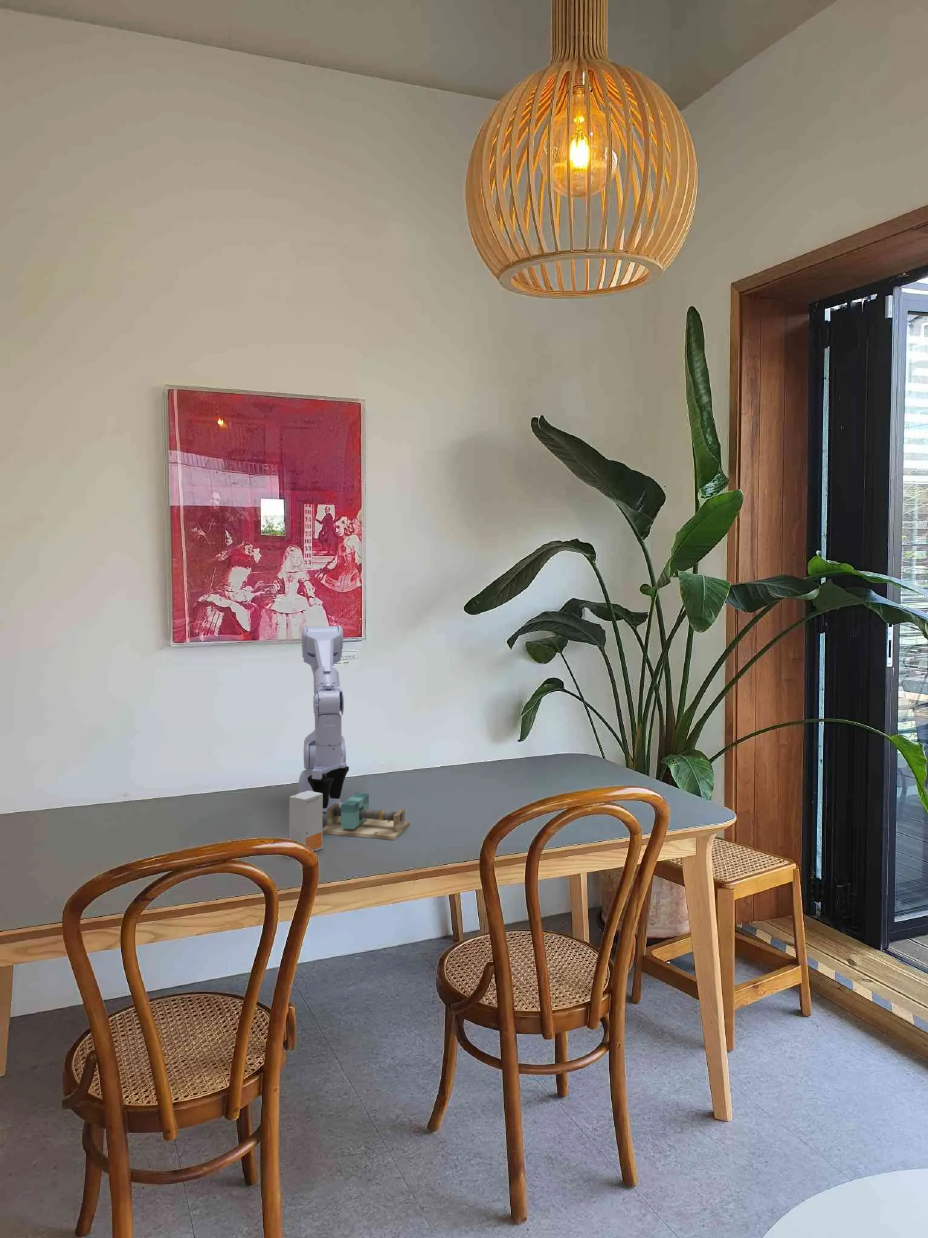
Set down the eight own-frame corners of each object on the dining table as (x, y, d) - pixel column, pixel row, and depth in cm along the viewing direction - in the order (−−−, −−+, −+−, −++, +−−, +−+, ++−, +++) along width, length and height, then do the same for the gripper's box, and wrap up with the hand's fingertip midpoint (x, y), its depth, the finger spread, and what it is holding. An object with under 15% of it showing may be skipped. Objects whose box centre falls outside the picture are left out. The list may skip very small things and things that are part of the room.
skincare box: (304, 857, 199) (304, 799, 198) (288, 853, 201) (288, 796, 200) (323, 848, 204) (323, 793, 203) (308, 845, 206) (307, 789, 205)
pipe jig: (320, 833, 214) (320, 813, 214) (338, 819, 225) (338, 799, 224) (394, 840, 210) (394, 819, 210) (409, 825, 221) (409, 805, 220)
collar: (341, 828, 214) (341, 804, 213) (356, 815, 223) (356, 792, 223) (353, 829, 213) (353, 805, 213) (368, 816, 222) (368, 793, 222)
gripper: (333, 751, 210) (333, 813, 211) (356, 737, 224) (356, 795, 225) (302, 749, 212) (303, 810, 213) (328, 736, 226) (328, 793, 227)
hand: (328, 803), depth 219 cm, fingers open, 7 cm apart
